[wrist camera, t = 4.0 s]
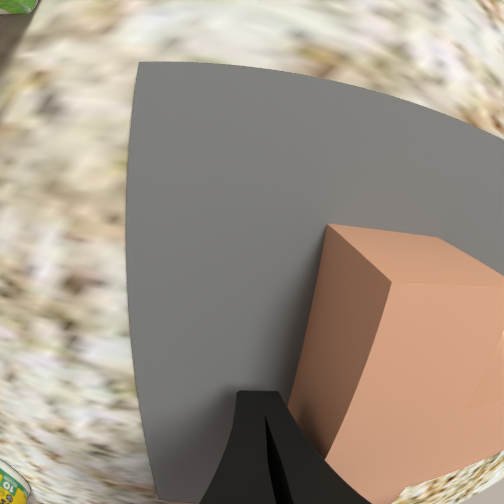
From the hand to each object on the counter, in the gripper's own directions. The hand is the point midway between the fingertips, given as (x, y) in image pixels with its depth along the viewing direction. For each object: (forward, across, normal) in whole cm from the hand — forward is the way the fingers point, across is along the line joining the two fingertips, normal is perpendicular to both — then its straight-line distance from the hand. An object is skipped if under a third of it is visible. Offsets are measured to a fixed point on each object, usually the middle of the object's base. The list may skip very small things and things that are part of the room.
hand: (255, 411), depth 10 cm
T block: (+1, -7, 0) cm, 8 cm away
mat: (+2, -10, 0) cm, 10 cm away
